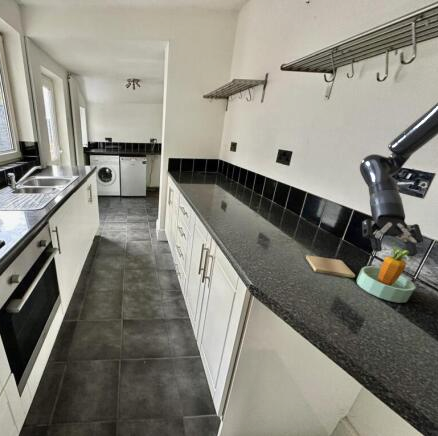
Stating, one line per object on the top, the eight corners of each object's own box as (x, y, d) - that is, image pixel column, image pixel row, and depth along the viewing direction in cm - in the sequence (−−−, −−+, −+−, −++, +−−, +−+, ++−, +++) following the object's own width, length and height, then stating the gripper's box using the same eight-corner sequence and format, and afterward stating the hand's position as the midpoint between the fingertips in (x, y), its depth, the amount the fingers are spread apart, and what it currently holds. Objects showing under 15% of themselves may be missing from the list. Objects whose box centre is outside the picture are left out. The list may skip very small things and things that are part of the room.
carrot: (368, 282, 77) (387, 243, 72) (387, 287, 75) (409, 246, 70) (374, 291, 73) (394, 250, 68) (394, 296, 71) (418, 254, 66)
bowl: (390, 282, 79) (397, 270, 77) (418, 307, 68) (427, 293, 66) (348, 275, 81) (354, 263, 80) (369, 298, 70) (376, 285, 69)
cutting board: (340, 262, 89) (341, 260, 89) (354, 278, 80) (355, 275, 80) (305, 257, 92) (306, 255, 91) (315, 271, 83) (316, 268, 83)
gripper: (368, 199, 75) (376, 246, 69) (422, 204, 72) (435, 254, 66) (353, 209, 82) (359, 252, 76) (402, 214, 79) (412, 260, 73)
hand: (394, 253), depth 71 cm, fingers open, 8 cm apart
